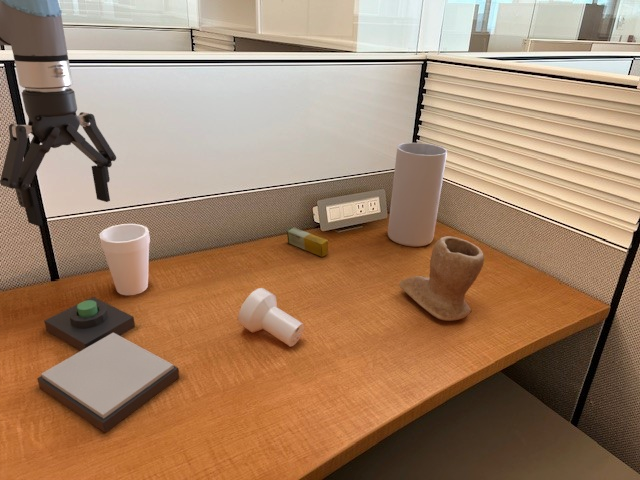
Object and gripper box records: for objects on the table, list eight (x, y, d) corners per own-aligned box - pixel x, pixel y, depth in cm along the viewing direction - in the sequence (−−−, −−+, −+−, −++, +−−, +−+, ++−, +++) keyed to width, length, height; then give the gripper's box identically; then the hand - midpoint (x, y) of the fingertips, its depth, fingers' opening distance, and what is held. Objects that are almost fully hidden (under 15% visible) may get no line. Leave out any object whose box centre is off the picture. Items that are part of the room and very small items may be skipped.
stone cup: (485, 317, 98) (500, 252, 92) (437, 329, 94) (449, 261, 87) (440, 282, 111) (450, 222, 104) (396, 291, 106) (404, 229, 100)
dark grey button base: (46, 331, 88) (42, 313, 86) (95, 306, 96) (91, 289, 94) (87, 355, 83) (83, 336, 81) (135, 327, 90) (132, 309, 89)
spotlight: (263, 306, 96) (264, 278, 91) (308, 335, 92) (312, 308, 86) (235, 331, 91) (235, 303, 85) (282, 363, 86) (285, 335, 81)
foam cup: (99, 295, 100) (88, 238, 94) (125, 274, 108) (117, 221, 102) (139, 302, 98) (131, 245, 92) (163, 280, 106) (157, 227, 100)
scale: (39, 388, 75) (35, 374, 74) (116, 342, 86) (113, 329, 85) (104, 433, 68) (101, 418, 67) (179, 377, 79) (178, 363, 77)
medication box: (287, 243, 126) (285, 230, 124) (294, 239, 128) (293, 226, 126) (322, 257, 119) (321, 243, 117) (329, 253, 121) (328, 239, 119)
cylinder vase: (423, 252, 125) (437, 158, 114) (379, 239, 130) (389, 149, 120) (439, 235, 134) (453, 148, 124) (397, 225, 140) (408, 140, 129)
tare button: (74, 314, 87) (73, 306, 86) (90, 306, 90) (89, 298, 89) (85, 319, 86) (84, 311, 85) (101, 311, 88) (100, 303, 87)
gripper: (-20, 100, 65) (16, 241, 74) (126, 83, 85) (140, 195, 94) (-51, 94, 68) (-13, 230, 77) (97, 79, 88) (114, 188, 97)
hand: (71, 211), depth 86 cm, fingers open, 13 cm apart
